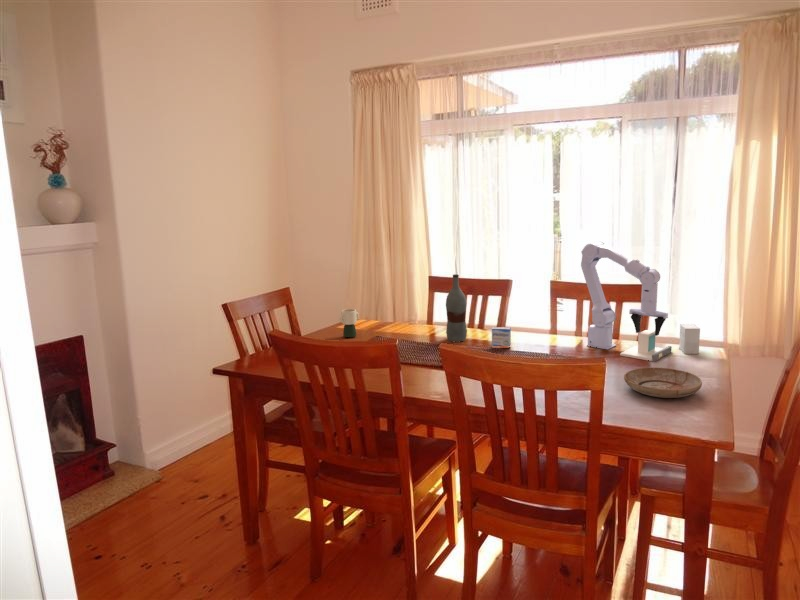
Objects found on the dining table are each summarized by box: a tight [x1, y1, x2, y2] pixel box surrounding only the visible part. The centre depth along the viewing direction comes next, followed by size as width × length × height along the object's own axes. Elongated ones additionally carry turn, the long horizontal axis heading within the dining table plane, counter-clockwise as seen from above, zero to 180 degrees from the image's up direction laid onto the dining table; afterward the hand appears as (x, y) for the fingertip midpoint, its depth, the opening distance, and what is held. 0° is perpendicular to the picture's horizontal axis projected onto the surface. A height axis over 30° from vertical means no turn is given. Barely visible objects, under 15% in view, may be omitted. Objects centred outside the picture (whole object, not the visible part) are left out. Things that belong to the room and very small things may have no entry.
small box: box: [678, 323, 701, 355], centre depth 242 cm, size 8×6×10 cm
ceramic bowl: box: [623, 367, 703, 399], centre depth 198 cm, size 23×24×5 cm
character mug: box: [338, 308, 360, 338], centre depth 284 cm, size 11×7×13 cm, turn 127°
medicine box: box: [491, 326, 512, 346], centre depth 257 cm, size 8×4×9 cm, turn 76°
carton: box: [637, 329, 656, 354], centre depth 240 cm, size 4×7×8 cm, turn 135°
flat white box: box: [620, 344, 672, 362], centre depth 241 cm, size 14×17×2 cm
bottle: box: [445, 273, 468, 343], centre depth 270 cm, size 9×9×30 cm
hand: (647, 333), depth 240 cm, fingers open, 7 cm apart
